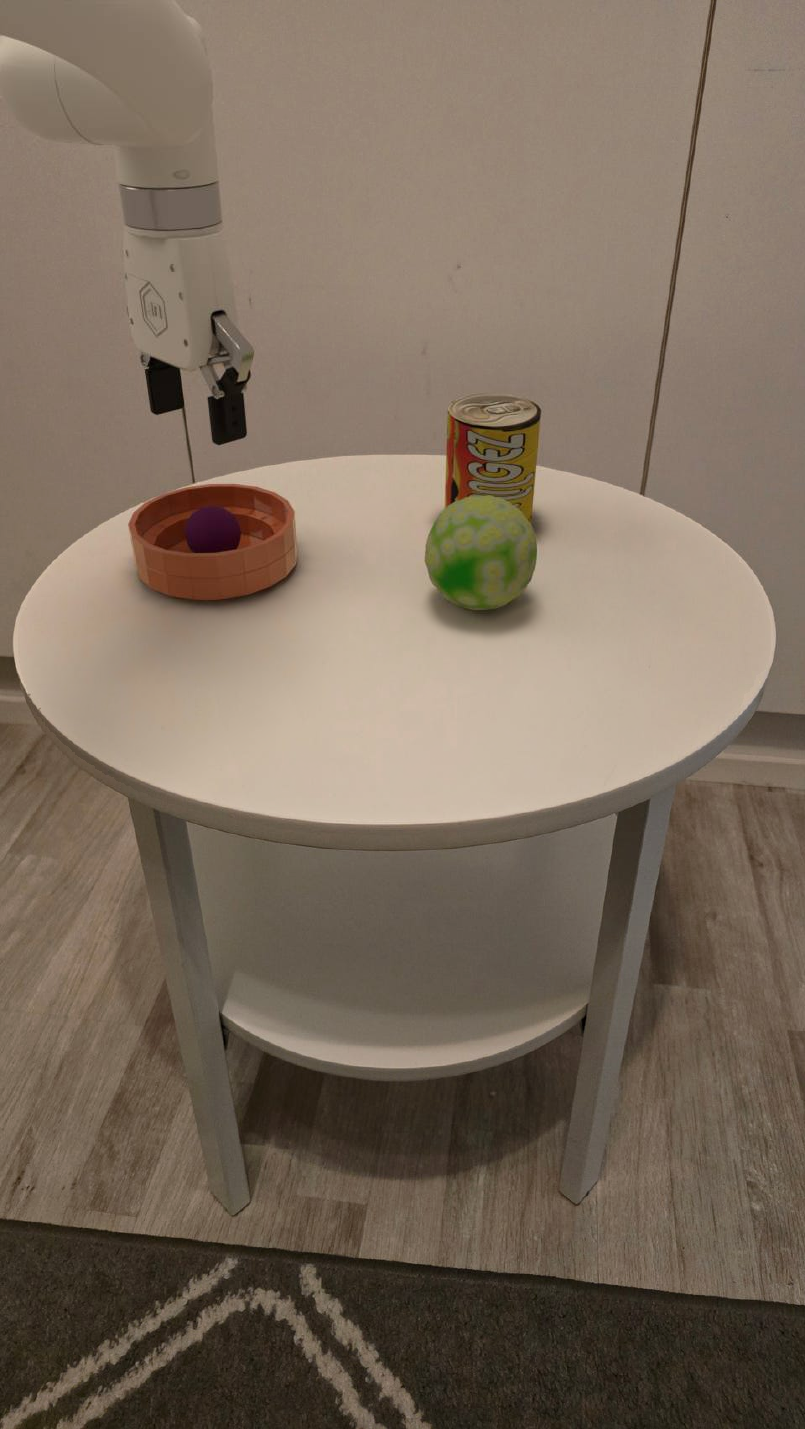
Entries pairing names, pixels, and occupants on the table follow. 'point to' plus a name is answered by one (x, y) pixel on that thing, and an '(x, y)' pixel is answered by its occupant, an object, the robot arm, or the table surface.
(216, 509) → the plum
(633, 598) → the table surface
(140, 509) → the bowl
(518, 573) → the decorative ball
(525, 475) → the beverage can
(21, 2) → the robot arm
